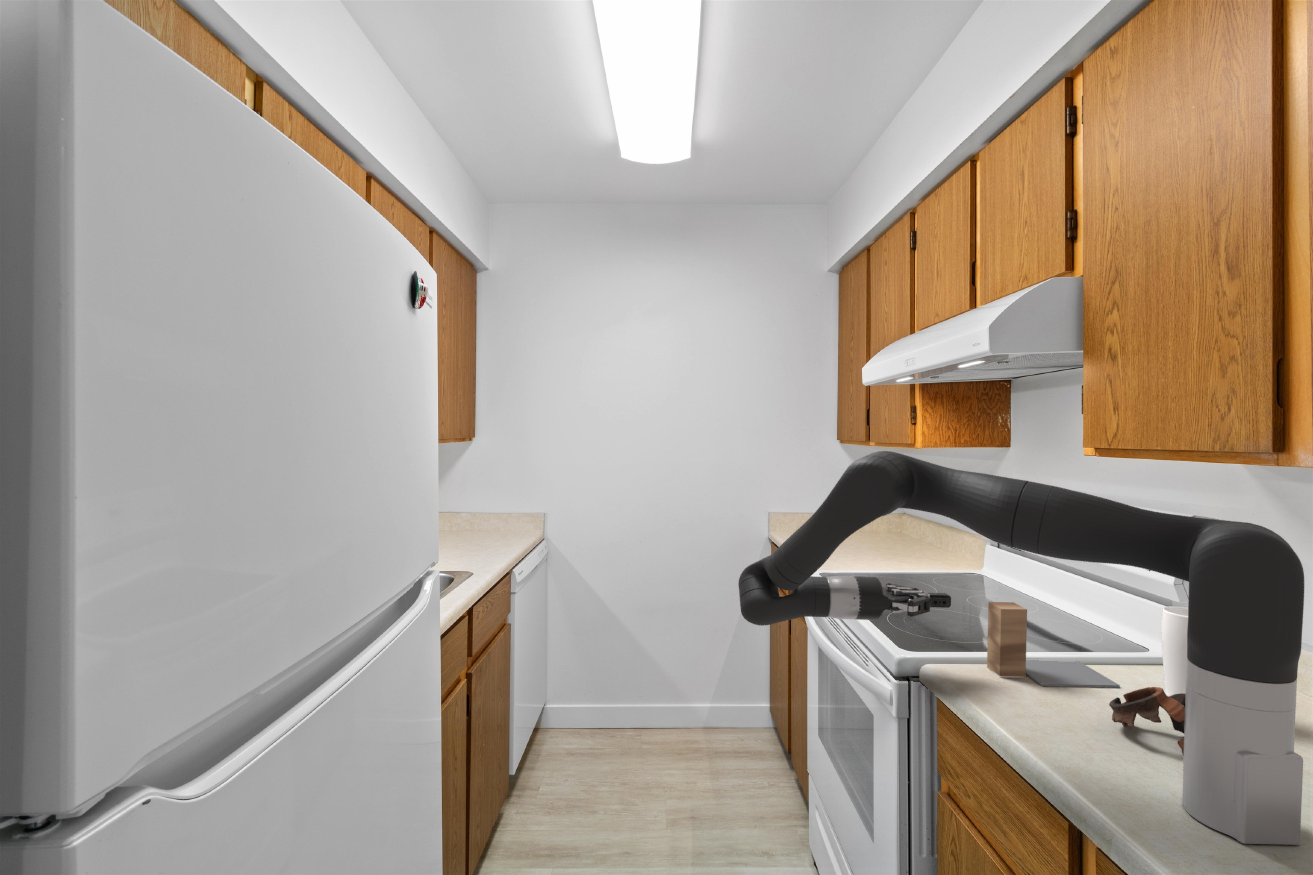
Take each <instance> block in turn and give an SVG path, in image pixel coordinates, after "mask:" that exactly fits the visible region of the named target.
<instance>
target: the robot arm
mask: <svg viewBox="0 0 1313 875" xmlns="http://www.w3.org/2000/svg"><path fill="white" fill-rule="evenodd" d="M898 509H908V510H914V511H915V510H916V511H922V512H926V513H930V514H936V515H939V516H943V517H946V518H949V519H951V520H953V521H956V522H957V523H959V524H961V525H963V526H964V527H966V528H968V529H969V530H972V531H973V532H974V533H976V534H979V535H981V536H983V537H984V538H986V539H988V540H990V541H992V542H994V543H998V544H1000V545H1003V546H1006V547H1010V548H1013V549H1016V550H1020V551H1024V552H1027V553H1028V552H1029V553H1031V554H1032V553H1033V554H1035V555H1041V556H1044V557H1049V558H1054V559H1058V560H1059V559H1060V560H1061V559H1062V560H1068V561H1069V560H1070V561H1075V562H1084V563H1085V562H1086V563H1097V564H1109V565H1110V564H1112V565H1122V566H1128V567H1135V568H1140V569H1143V570H1147V571H1152V572H1156V573H1159V574H1163V575H1167V576H1170V577H1173V578H1175V579H1179V580H1182V581H1184V582H1187V583H1188V601H1187V602H1188V607H1187V608H1188V628H1187V672H1186V697H1185V727H1184V734H1183V738H1184V756H1182V757H1183V762H1182V764H1183V766H1182V768H1183V769H1182V797H1181V798H1182V799H1181V801H1182V802H1181V803H1182V806H1183V809H1184V810H1185V811H1186V812H1187V813H1188V814H1189V815H1190V816H1191V817H1193V818H1194V819H1195V820H1197V821H1199V823H1201V824H1203V825H1205V826H1207V827H1209V828H1211V829H1213V830H1215V831H1217V832H1220V833H1222V834H1225V835H1227V836H1230V837H1232V838H1234V839H1235V840H1237V841H1238V842H1240V843H1241V844H1245V845H1247V844H1249V845H1252V844H1253V845H1258V844H1259V845H1289V846H1290V845H1291V846H1292V845H1294V846H1297V845H1298V846H1299V845H1301V828H1302V802H1303V799H1302V798H1303V777H1304V774H1303V773H1304V758H1303V757H1302V755H1301V754H1299V753H1296V752H1295V738H1296V737H1295V735H1296V711H1297V710H1296V709H1297V692H1298V691H1297V688H1298V687H1297V683H1298V668H1299V661H1300V658H1301V654H1302V643H1303V642H1302V640H1303V624H1304V609H1305V608H1304V607H1305V606H1304V605H1305V604H1304V603H1305V572H1304V571H1305V570H1304V567H1303V564H1302V562H1301V559H1300V557H1299V556H1298V554H1297V552H1295V550H1294V549H1293V548H1292V546H1291V545H1290V544H1289V543H1288V542H1287V540H1285V539H1284V537H1282V536H1281V535H1280V534H1278V533H1277V532H1275V531H1273V530H1271V529H1269V528H1267V527H1265V526H1262V525H1259V524H1255V523H1251V522H1244V521H1236V520H1235V521H1234V520H1227V519H1226V520H1224V519H1214V518H1213V519H1212V518H1206V517H1196V516H1188V515H1181V514H1180V515H1179V514H1174V513H1173V514H1172V513H1167V512H1166V513H1165V512H1159V511H1154V510H1149V509H1144V508H1140V507H1137V506H1132V505H1128V504H1126V503H1123V502H1119V501H1115V500H1112V499H1108V498H1105V497H1100V496H1097V495H1093V494H1090V493H1086V492H1081V491H1077V490H1072V489H1068V488H1064V487H1060V486H1055V485H1051V484H1045V483H1040V482H1035V481H1028V480H1024V479H1019V478H1018V479H1017V478H1011V477H1007V476H999V475H996V474H995V475H994V474H988V473H982V472H975V471H969V470H960V469H955V468H951V467H947V466H942V465H939V464H936V463H933V462H929V461H926V460H923V459H919V458H915V457H913V456H909V455H905V454H903V453H899V452H895V451H890V450H879V451H878V450H877V451H874V452H871V453H869V454H866V455H864V456H862V457H860V458H858V459H856V460H854V461H852V463H850V464H849V466H847V468H846V469H845V471H844V472H843V473H842V475H841V476H840V478H839V479H838V480H837V482H836V484H835V485H834V486H833V488H832V490H831V491H830V492H829V493H828V495H827V497H826V498H825V499H824V500H823V502H822V503H821V505H820V506H819V507H818V508H817V509H816V511H815V512H814V513H813V514H812V515H811V516H810V517H809V518H808V519H807V520H806V521H805V522H804V523H802V525H801V526H799V528H797V529H796V530H795V531H794V532H793V533H792V534H791V535H790V536H789V537H788V538H786V539H785V541H783V543H781V545H779V546H778V547H777V549H775V551H773V553H772V554H770V555H767V556H766V557H763V558H761V559H759V560H758V561H755V562H753V563H751V564H749V565H748V566H746V567H745V568H744V569H743V570H742V571H741V574H740V576H739V578H738V595H739V605H740V606H739V607H740V612H741V616H742V618H743V619H744V620H745V621H746V622H748V623H750V624H752V625H756V626H761V627H762V626H770V625H774V624H778V623H782V622H786V621H790V620H794V619H799V618H804V617H808V618H809V617H810V618H811V617H813V618H831V619H838V620H861V621H864V620H865V621H878V620H880V619H881V617H883V613H884V611H886V610H887V611H890V612H891V613H893V614H894V613H895V614H900V613H904V612H906V615H907V616H908V617H916V616H919V615H922V614H923V615H924V614H926V613H929V612H930V611H931V608H943V609H944V608H946V609H948V608H951V605H952V597H951V596H950V595H949V594H948V593H946V592H927V591H925V590H920V589H919V588H917V587H911V586H906V585H900V584H896V583H895V584H893V583H890V582H888V583H887V582H886V583H885V586H883V585H882V583H881V581H880V579H879V578H878V577H876V576H858V575H855V576H854V575H852V576H850V575H836V576H835V575H834V576H812V575H814V574H815V573H816V572H817V571H818V570H819V569H820V568H821V567H822V566H823V565H824V564H825V563H826V562H827V561H828V560H829V558H831V556H832V555H833V554H834V552H835V551H836V549H838V547H840V545H842V543H844V542H845V540H847V539H849V537H850V536H852V535H853V534H855V533H856V532H857V531H859V530H860V529H862V528H864V527H866V526H867V525H869V524H871V523H872V522H874V521H876V520H877V519H879V518H882V517H884V516H887V515H890V514H891V513H893V512H895V511H896V510H898ZM779 589H780V590H784V591H790V593H788V594H787V595H784V596H780V592H779Z"/></svg>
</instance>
